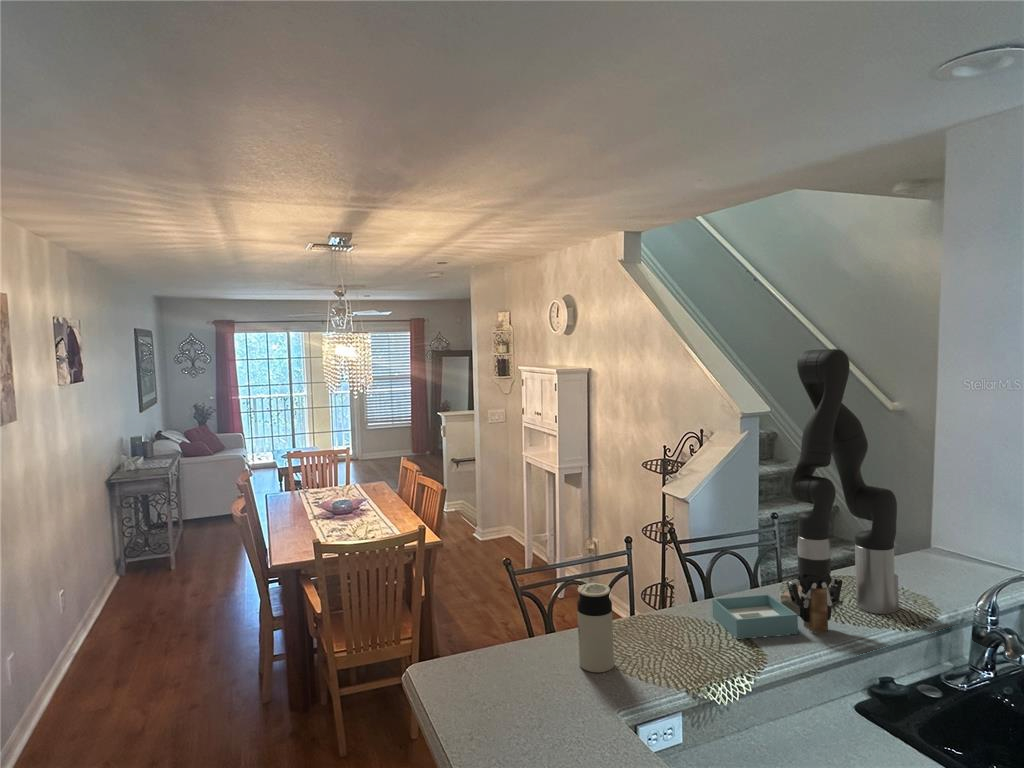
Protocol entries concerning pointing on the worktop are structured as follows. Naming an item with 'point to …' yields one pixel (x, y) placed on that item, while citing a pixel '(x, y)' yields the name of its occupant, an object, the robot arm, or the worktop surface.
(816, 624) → the brown wooden block
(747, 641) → the worktop surface
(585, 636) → the travel mug
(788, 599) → the packaged product
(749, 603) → the walled box
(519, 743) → the worktop surface
